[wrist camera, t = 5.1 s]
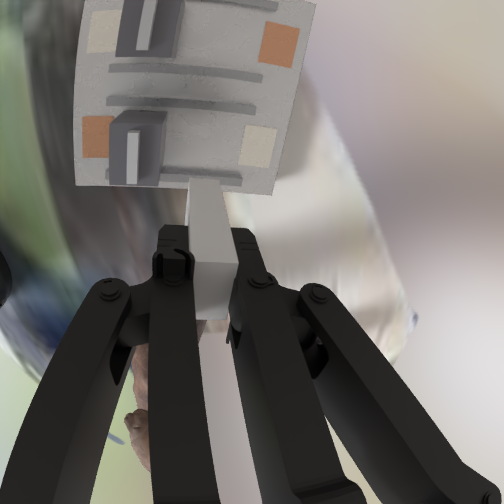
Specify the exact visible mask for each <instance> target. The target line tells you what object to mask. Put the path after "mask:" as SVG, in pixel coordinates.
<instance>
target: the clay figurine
mask: <svg viewBox="0 0 504 504" xmlns="http://www.w3.org/2000/svg"><path fill="white" fill-rule="evenodd" d="M206 321H207V320H198V319H196V324H197V335H198V343H199V341H200V338H201V335H202V332H203V330H204V327H205V324H206ZM148 344H149V343H146V344H142V345H138V346H136V350H135V353H134V356H133V359H132V361H131V362H132V369H133V375H134V384H133V391H134V394H135V398H136V402H137V406H138V409H137V410H135V411H134V412H133V413H128V414H127V415H126V417H125V419H124V423H125V424H126V426H127V429H128V430H129V432H130V439H131V445H132V447H133V449H134V451H135V452H136V454H137V456H138V457H139V459H140V461H141V463H142V465H143V466H144V467H145V468H146V469H147V470H148V471H149V472H150V473H151V468H150V453H149V433H148Z"/></svg>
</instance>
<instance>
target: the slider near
mask: <svg viewBox="0 0 504 504" xmlns="http://www.w3.org/2000/svg"><path fill="white" fill-rule="evenodd" d="M184 8H185V1H184V0H124V4H123V9H122V14H121V20H120V26H119V32H118V38H117V45H116V53H115V57H165V58H175V57H176V51H177V45H178V39H179V33H180V28H181V23H182V18H183V13H184Z"/></svg>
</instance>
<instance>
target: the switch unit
mask: <svg viewBox="0 0 504 504" xmlns="http://www.w3.org/2000/svg"><path fill="white" fill-rule="evenodd" d="M184 1H185V8H184V13H183V18H182V23H181V28H180V33H179V39H178V45H177V51H176V57H175V58H165V57H115V53H116V45H117V38H118V32H119V26H120V20H121V14H122V9H123V4H124V0H85V4H84V9H83V15H82V21H81V27H80V34H79V41H78V50H77V59H76V70H75V84H74V108H73V141H74V166H75V181H76V186H125V185H109V124H110V123H111V122H112V121H113V120H114V119H115V118H116V117H117V116H118V115H120V114H121V113H122V112H123V111H152V112H168V115H167V125H166V135H165V147H164V160H163V167H162V172H161V176H160V181H159V185H158V188H178V189H188V186H189V178H203V179H215V180H220V185H221V189H222V191H225V192H238V193H250V194H261V195H271V196H272V192H273V188H274V184H275V180H276V176H277V171H278V167H279V163H280V159H281V154H282V150H283V146H284V142H285V137H286V133H287V129H288V125H289V120H290V116H291V112H292V107H293V103H294V99H295V94H296V90H297V86H298V82H299V77H300V73H301V69H302V64H303V60H304V55H305V51H306V47H307V42H308V38H309V34H310V29H311V25H312V20H313V16H314V12H315V7H316V4H313V3H310V2H307V1H303V0H184ZM131 187H154V186H131Z"/></svg>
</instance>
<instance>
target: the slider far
mask: <svg viewBox="0 0 504 504" xmlns="http://www.w3.org/2000/svg"><path fill="white" fill-rule="evenodd" d="M167 115H168V112H152V111H123V112H122V113H121V114H120V115H118V116H117V117H116V118H115V119H114V120H113V121H112V122H111V123H110V124H109V185H125V186H154V187H158V185H159V181H160V176H161V172H162V167H163V160H164V147H165V135H166V125H167Z"/></svg>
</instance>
